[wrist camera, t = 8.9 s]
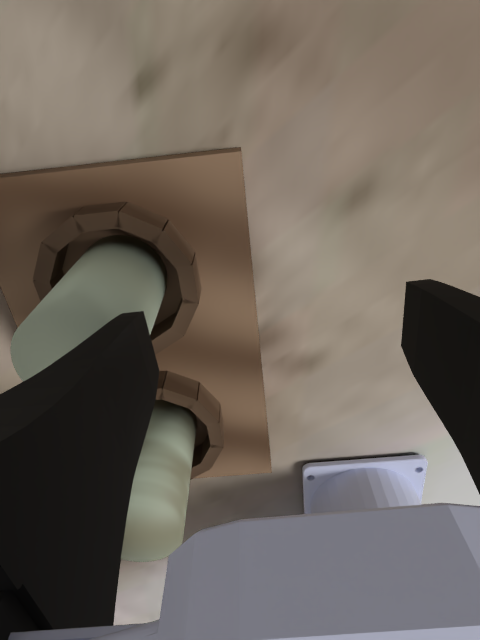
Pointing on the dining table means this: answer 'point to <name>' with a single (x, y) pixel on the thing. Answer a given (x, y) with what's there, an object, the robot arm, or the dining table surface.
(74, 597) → the robot arm
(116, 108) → the dining table surface
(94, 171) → the peg stand
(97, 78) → the dining table surface
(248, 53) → the dining table surface
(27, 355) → the loose peg
